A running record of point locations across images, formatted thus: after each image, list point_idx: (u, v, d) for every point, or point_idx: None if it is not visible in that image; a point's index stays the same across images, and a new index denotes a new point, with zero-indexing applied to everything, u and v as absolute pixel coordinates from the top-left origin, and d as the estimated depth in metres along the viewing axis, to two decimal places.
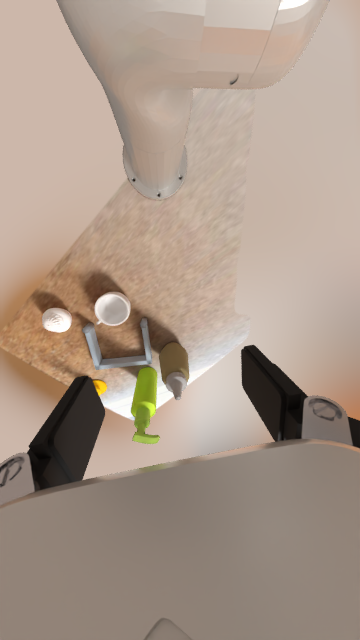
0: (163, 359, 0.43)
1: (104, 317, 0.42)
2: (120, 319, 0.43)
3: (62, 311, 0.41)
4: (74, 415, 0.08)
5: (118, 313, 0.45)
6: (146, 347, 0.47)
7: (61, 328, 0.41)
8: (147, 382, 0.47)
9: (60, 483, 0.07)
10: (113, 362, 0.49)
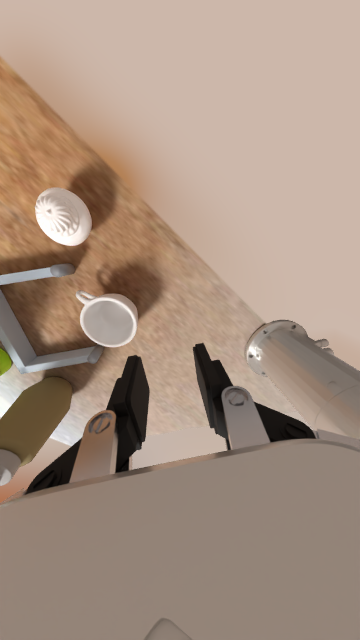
0: (37, 408, 0.26)
1: (92, 306, 0.25)
2: (94, 329, 0.26)
3: (87, 233, 0.22)
4: (136, 385, 0.09)
5: (101, 315, 0.29)
6: (51, 364, 0.29)
7: (48, 230, 0.20)
8: None
9: (134, 438, 0.08)
10: None
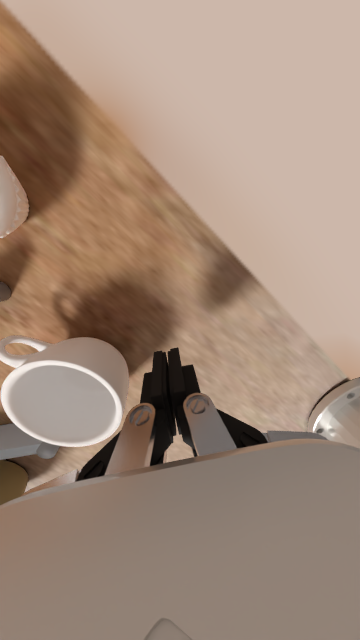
0: None
1: (32, 369, 0.12)
2: (42, 409, 0.14)
3: (0, 217, 0.09)
4: (167, 379, 0.09)
5: (64, 372, 0.16)
6: None
7: None
8: None
9: (169, 431, 0.08)
10: None
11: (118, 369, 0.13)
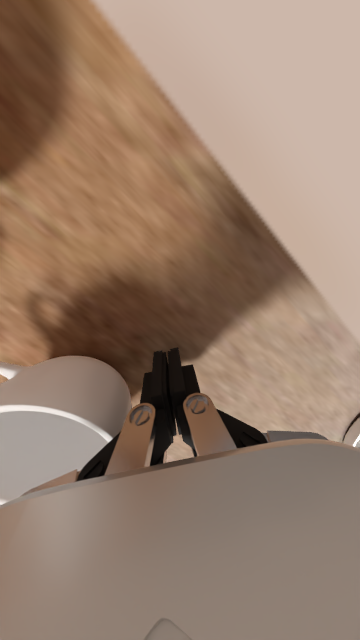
0: None
1: None
2: (12, 458, 0.10)
3: None
4: (167, 379, 0.09)
5: None
6: None
7: None
8: None
9: (169, 431, 0.08)
10: None
11: (118, 403, 0.09)
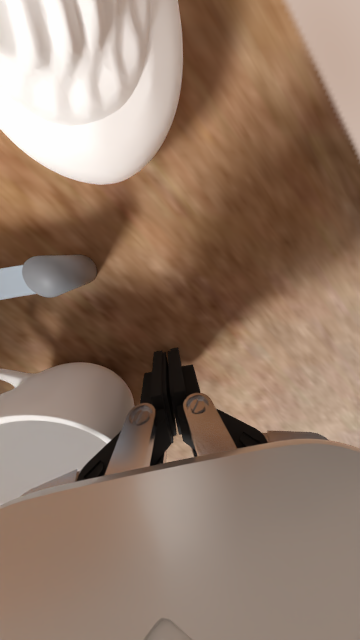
0: None
1: None
2: (18, 464, 0.10)
3: (163, 128, 0.05)
4: (167, 379, 0.09)
5: None
6: None
7: None
8: None
9: (169, 431, 0.08)
10: None
11: (123, 410, 0.09)
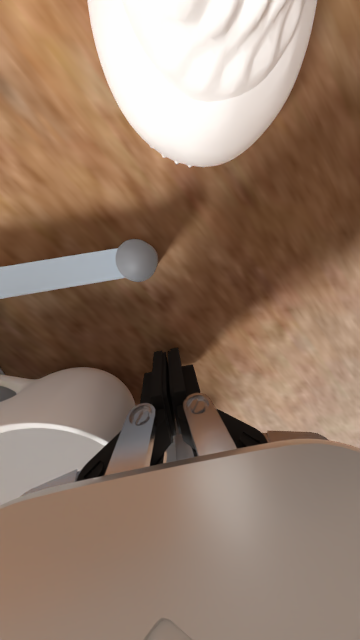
0: None
1: None
2: (21, 470, 0.10)
3: (279, 108, 0.05)
4: (167, 379, 0.09)
5: None
6: None
7: (153, 43, 0.04)
8: None
9: (169, 431, 0.08)
10: None
11: (124, 415, 0.09)
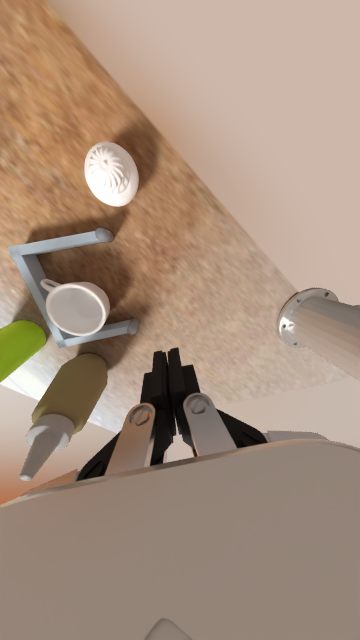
0: (81, 378, 0.26)
1: (58, 294, 0.24)
2: (63, 319, 0.26)
3: (134, 192, 0.21)
4: (167, 379, 0.09)
5: (72, 305, 0.28)
6: (90, 336, 0.28)
7: (98, 187, 0.20)
8: (18, 359, 0.24)
9: (169, 431, 0.08)
10: (38, 281, 0.25)
11: (102, 294, 0.26)
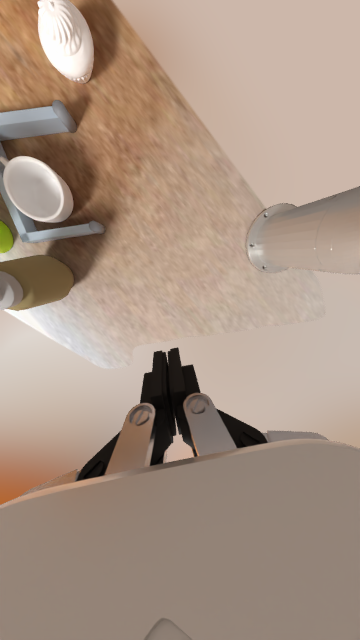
0: (38, 262, 0.26)
1: (18, 174, 0.25)
2: (24, 204, 0.26)
3: (89, 60, 0.22)
4: (167, 379, 0.09)
5: (37, 200, 0.29)
6: (53, 232, 0.29)
7: (50, 44, 0.20)
8: None
9: (169, 431, 0.08)
10: (0, 164, 0.26)
11: (62, 180, 0.26)
